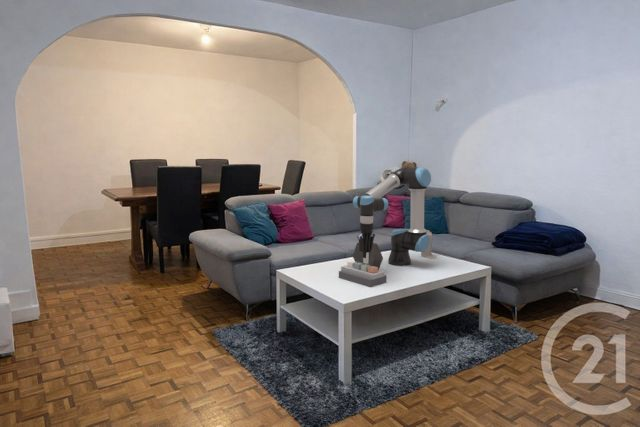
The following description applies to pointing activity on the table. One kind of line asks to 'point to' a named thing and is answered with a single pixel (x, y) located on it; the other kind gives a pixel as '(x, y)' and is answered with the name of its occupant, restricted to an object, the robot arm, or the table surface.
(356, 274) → the console
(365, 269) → the key sage
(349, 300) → the table surface
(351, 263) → the key ivory
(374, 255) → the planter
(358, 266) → the key slate
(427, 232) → the candle
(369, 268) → the key terracotta
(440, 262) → the table surface
